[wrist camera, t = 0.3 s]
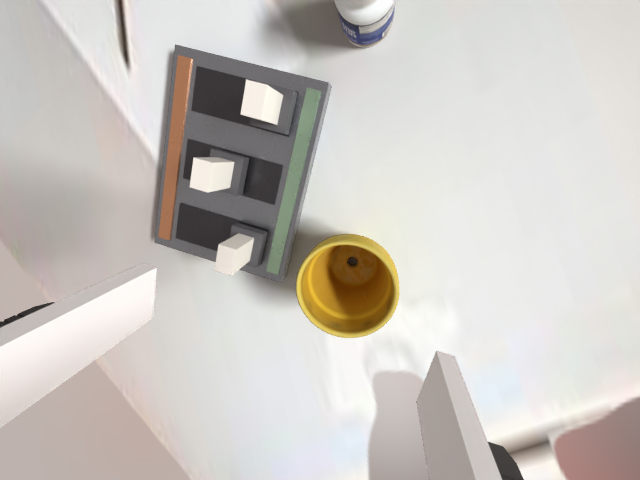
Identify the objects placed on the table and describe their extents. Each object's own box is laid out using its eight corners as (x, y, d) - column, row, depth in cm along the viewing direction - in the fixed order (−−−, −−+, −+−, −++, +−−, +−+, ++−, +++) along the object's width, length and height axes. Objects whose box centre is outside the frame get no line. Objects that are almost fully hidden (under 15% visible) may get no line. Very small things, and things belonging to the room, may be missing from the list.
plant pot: (298, 245, 41) (275, 271, 32) (368, 205, 38) (365, 221, 29) (339, 310, 42) (328, 353, 33) (410, 276, 39) (420, 313, 30)
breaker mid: (217, 149, 37) (185, 147, 31) (249, 157, 37) (222, 158, 30) (212, 185, 38) (179, 191, 32) (242, 194, 38) (215, 202, 32)
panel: (185, 50, 37) (173, 43, 35) (331, 86, 35) (328, 82, 33) (164, 238, 44) (153, 242, 42) (285, 277, 42) (280, 283, 40)
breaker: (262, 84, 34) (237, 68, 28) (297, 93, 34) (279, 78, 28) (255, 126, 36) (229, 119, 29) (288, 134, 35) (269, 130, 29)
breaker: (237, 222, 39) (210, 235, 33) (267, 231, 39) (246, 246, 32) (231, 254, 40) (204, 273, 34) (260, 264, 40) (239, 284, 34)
